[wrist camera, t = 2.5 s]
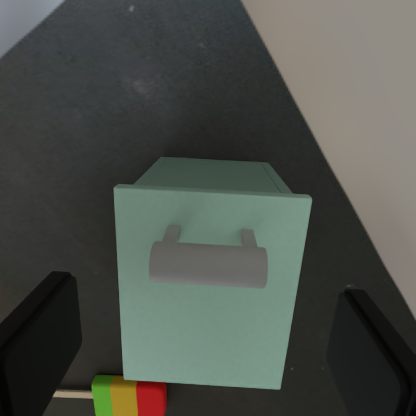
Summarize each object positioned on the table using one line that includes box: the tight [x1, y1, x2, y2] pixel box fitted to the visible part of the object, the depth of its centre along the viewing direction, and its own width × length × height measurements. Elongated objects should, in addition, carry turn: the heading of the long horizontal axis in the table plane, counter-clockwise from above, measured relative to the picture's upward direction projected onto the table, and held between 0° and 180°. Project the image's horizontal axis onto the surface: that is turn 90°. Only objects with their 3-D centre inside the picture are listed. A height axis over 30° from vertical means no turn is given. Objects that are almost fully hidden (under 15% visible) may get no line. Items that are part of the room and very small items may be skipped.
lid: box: [114, 184, 312, 389], centre depth 17 cm, size 14×11×5 cm
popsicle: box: [53, 375, 167, 416], centre depth 40 cm, size 6×15×2 cm, turn 89°
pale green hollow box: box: [133, 157, 293, 194], centre depth 26 cm, size 13×11×14 cm
